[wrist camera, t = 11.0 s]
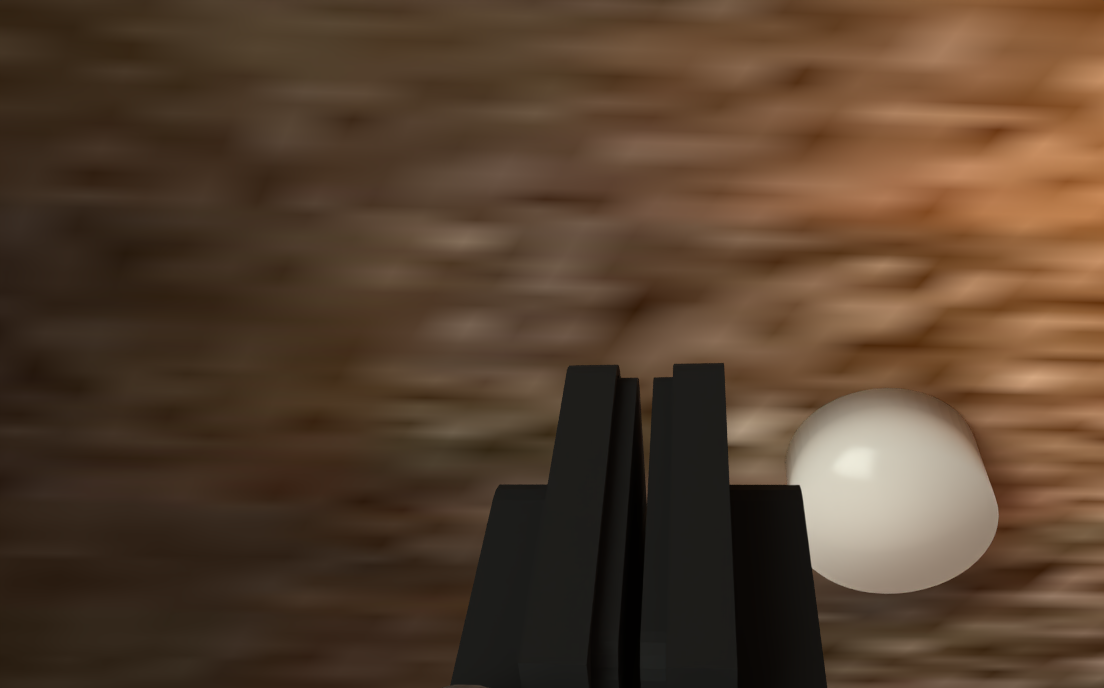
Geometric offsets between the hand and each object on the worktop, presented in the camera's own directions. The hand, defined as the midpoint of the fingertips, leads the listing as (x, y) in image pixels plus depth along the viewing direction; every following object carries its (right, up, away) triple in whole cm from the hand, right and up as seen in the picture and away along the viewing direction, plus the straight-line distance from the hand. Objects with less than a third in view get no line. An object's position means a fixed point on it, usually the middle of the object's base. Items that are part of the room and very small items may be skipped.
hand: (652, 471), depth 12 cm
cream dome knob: (+13, -4, +34) cm, 37 cm away
